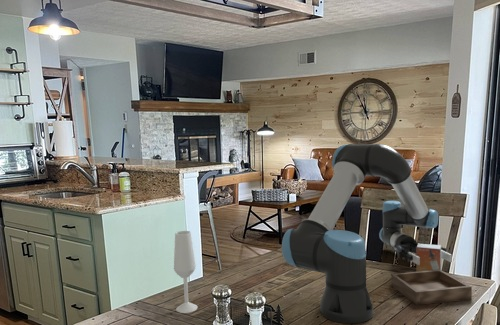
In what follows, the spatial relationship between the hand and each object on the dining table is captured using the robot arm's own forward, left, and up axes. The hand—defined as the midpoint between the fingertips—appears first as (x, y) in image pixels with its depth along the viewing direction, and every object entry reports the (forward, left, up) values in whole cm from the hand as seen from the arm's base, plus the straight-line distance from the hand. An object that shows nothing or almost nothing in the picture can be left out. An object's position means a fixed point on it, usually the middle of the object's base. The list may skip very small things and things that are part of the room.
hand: (434, 259), depth 140 cm
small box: (0, +4, -7) cm, 8 cm away
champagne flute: (-87, -6, -7) cm, 87 cm away
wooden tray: (-9, -11, -6) cm, 16 cm away
